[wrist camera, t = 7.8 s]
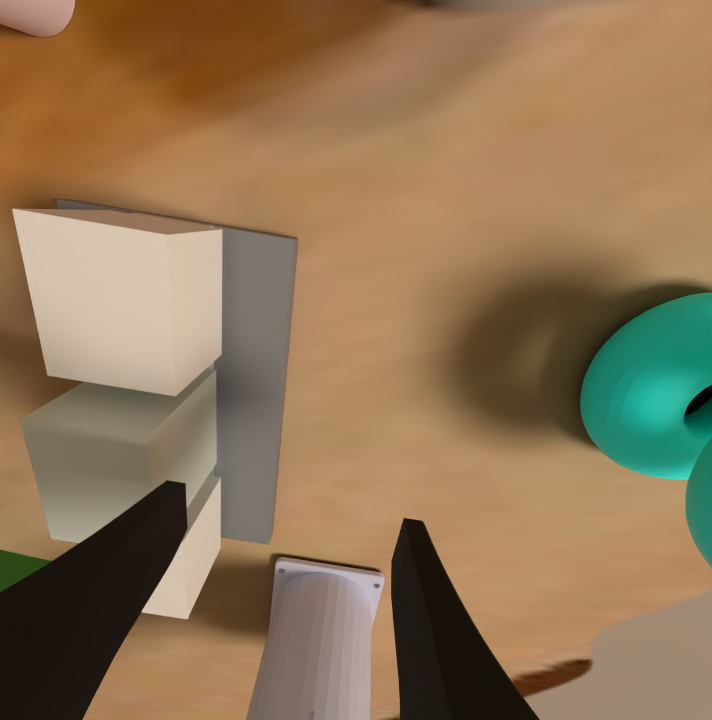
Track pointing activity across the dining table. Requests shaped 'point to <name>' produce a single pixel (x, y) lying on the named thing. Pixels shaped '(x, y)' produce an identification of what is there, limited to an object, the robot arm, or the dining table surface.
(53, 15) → the smoothie
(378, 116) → the dining table surface
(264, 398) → the plate
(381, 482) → the dining table surface
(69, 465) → the block
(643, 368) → the donuts
